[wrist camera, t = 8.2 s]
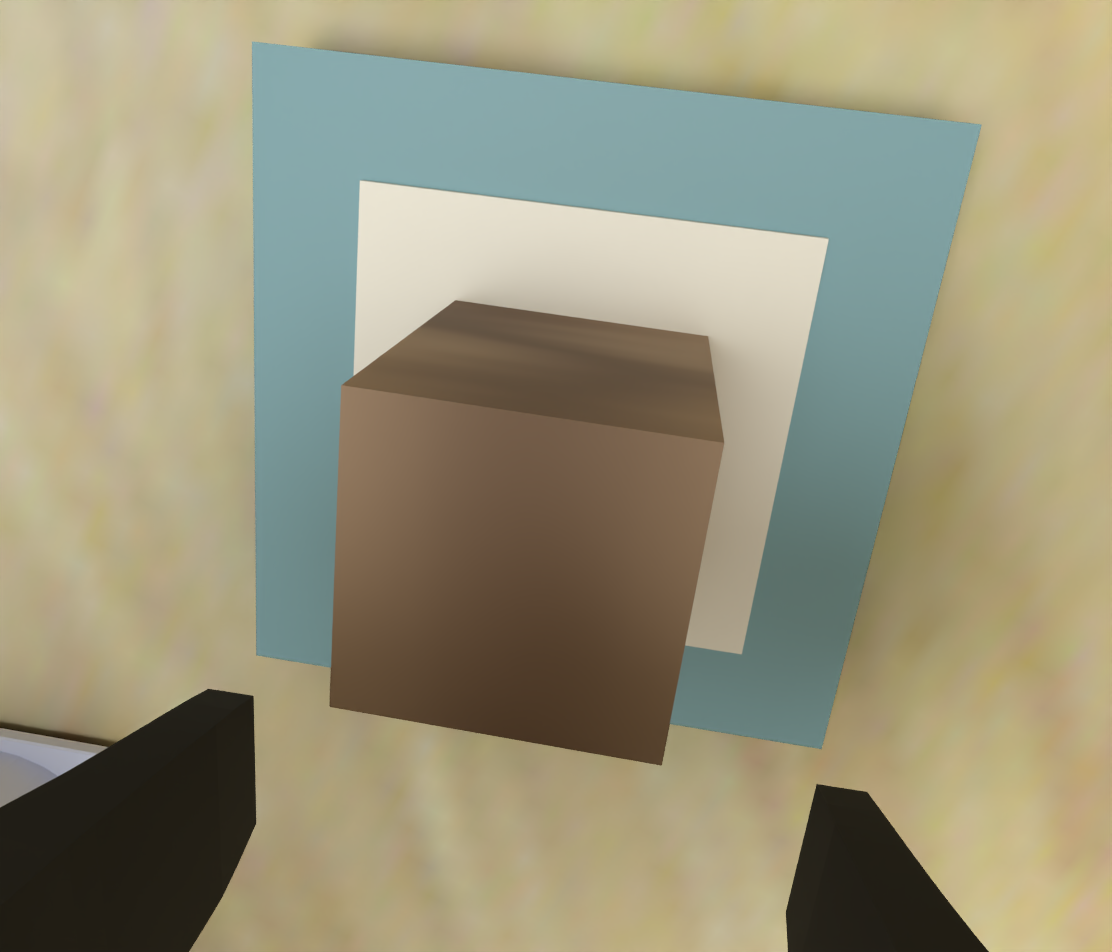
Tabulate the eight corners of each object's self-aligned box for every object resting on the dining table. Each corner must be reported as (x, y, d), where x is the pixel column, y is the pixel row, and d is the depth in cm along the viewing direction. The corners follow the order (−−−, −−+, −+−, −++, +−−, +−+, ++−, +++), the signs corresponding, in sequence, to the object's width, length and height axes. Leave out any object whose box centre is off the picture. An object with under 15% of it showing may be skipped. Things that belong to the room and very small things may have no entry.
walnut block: (437, 529, 18) (329, 706, 12) (455, 299, 16) (341, 384, 11) (666, 566, 18) (662, 766, 12) (707, 336, 16) (723, 442, 11)
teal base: (299, 602, 22) (252, 660, 20) (305, 53, 18) (247, 40, 15) (806, 684, 21) (822, 755, 19) (941, 125, 17) (985, 124, 14)
